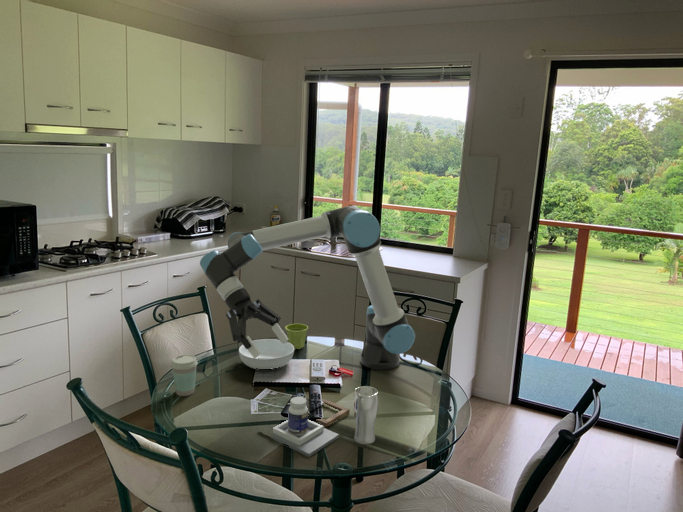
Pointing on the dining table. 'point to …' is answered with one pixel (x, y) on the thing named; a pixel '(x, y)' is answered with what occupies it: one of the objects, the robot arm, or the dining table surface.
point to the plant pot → (297, 334)
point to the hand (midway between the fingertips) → (272, 348)
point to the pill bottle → (298, 416)
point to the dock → (305, 437)
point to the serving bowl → (268, 354)
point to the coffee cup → (184, 374)
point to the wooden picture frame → (335, 417)
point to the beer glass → (365, 414)
